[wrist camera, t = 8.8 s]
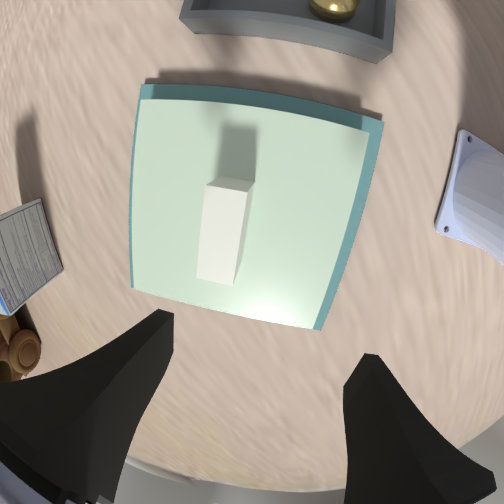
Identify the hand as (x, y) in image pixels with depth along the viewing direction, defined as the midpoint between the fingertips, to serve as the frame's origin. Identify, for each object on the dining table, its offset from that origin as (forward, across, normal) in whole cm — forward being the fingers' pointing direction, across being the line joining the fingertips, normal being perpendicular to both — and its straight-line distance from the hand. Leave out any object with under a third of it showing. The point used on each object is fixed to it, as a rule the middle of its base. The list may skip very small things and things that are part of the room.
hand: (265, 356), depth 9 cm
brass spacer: (+10, 0, -17) cm, 20 cm away
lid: (+9, +3, -2) cm, 10 cm away
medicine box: (+10, +23, +4) cm, 26 cm away
